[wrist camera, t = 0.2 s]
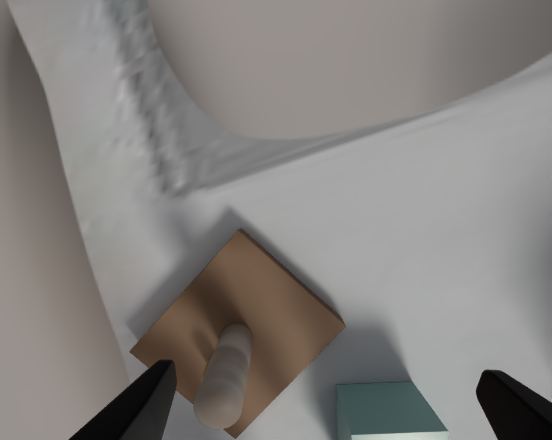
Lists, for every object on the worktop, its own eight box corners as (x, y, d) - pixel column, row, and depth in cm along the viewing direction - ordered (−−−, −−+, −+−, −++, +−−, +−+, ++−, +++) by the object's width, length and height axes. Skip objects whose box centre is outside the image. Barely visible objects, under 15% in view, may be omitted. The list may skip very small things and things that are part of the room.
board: (237, 424, 24) (216, 547, 16) (138, 341, 23) (60, 424, 15) (341, 317, 23) (378, 388, 15) (240, 228, 22) (219, 248, 14)
